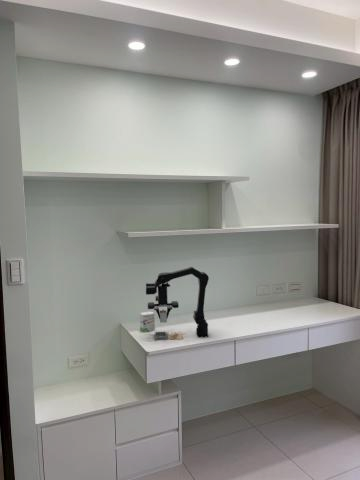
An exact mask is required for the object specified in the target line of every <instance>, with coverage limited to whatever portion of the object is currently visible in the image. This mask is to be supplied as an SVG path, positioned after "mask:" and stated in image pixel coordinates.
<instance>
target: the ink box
mask: <svg viewBox="0 0 360 480" xmlns="http://www.w3.org/2000/svg"><path fill="white" fill-rule="evenodd" d="M155 320H156V318H155V312H153V311H144V312H140V313H139V321H140V322H139V324H140V325H139V326H140V328H139V329H140V332H142V333H147V332H154V331H155V330H156V328H155V327H156V325H155V324H156V323H155ZM155 332H156V331H155Z"/></svg>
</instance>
